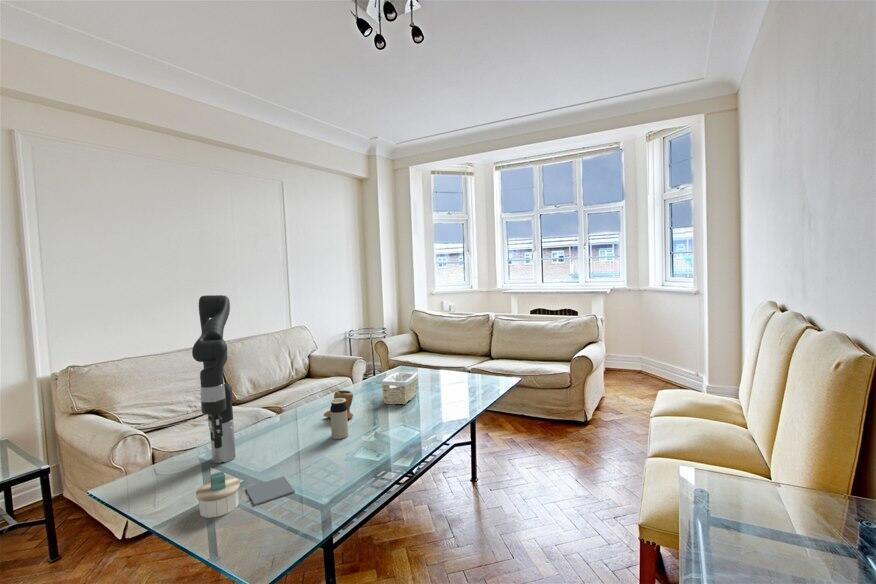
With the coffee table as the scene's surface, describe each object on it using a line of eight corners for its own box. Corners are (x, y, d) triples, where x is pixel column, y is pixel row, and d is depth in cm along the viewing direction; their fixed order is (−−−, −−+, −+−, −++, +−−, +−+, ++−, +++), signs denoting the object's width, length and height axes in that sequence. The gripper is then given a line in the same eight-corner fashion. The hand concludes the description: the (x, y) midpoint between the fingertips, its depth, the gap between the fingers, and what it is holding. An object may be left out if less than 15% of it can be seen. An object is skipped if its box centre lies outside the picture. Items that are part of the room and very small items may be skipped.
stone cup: (358, 415, 236) (357, 389, 235) (344, 423, 225) (342, 395, 224) (337, 412, 243) (336, 386, 242) (323, 419, 233) (321, 392, 232)
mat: (246, 489, 159) (245, 488, 159) (283, 477, 167) (283, 476, 167) (254, 505, 148) (254, 504, 148) (294, 492, 156) (294, 490, 156)
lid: (193, 489, 149) (192, 473, 149) (235, 477, 157) (234, 462, 157) (198, 506, 138) (197, 489, 138) (243, 492, 146) (242, 476, 146)
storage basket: (396, 393, 277) (395, 371, 276) (419, 394, 272) (418, 372, 271) (381, 405, 254) (380, 380, 253) (406, 406, 249) (405, 382, 248)
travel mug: (344, 439, 203) (342, 403, 202) (328, 439, 204) (327, 402, 203) (350, 433, 211) (349, 398, 210) (336, 432, 212) (334, 397, 211)
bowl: (197, 505, 149) (196, 489, 149) (234, 494, 156) (233, 478, 156) (202, 521, 139) (201, 504, 139) (241, 508, 146) (240, 491, 146)
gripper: (198, 395, 150) (201, 440, 150) (203, 405, 138) (206, 453, 139) (221, 391, 154) (224, 435, 155) (228, 400, 142) (231, 447, 143)
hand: (216, 443), depth 147 cm, fingers open, 8 cm apart
